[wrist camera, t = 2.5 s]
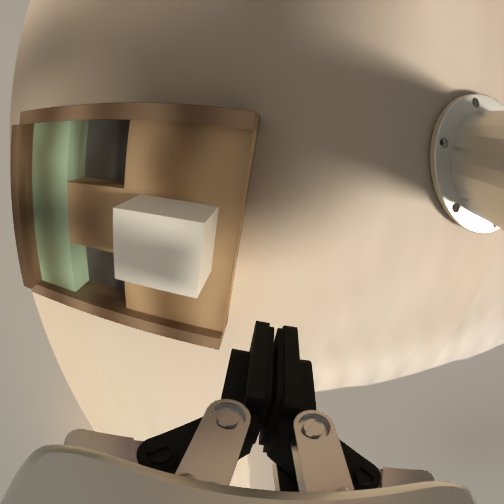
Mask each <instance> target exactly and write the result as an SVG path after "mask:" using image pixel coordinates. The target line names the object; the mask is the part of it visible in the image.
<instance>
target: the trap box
mask: <svg viewBox="0 0 504 504" xmlns="http://www.w3.org/2000/svg"><path fill="white" fill-rule="evenodd" d="M259 120H260V116H259V115H258V114H257V113H256V112H254V111H247V110H240V109H232V108H223V107H213V106H202V105H189V104H171V103H101V104H84V105H71V106H61V107H52V108H44V109H37V110H30V111H24V112H21V117H20V125H12V136H11V196H12V211H13V221H14V230H15V238H16V245H17V252H18V257H19V263H20V269H21V274H22V278H23V283H24V286H26V287H28V288H30V289H32V291H33V292H35V293H37V294H40V295H42V296H45V297H47V298H49V299H52V300H55V301H57V302H60V303H62V304H65V305H68V306H70V307H73V308H76V309H78V310H81V311H84V312H87V313H90V314H92V315H95V316H98V317H101V318H104V319H107V320H110V321H113V322H117V323H120V324H123V325H126V326H129V327H133V328H136V329H140V330H143V331H146V332H150V333H154V334H157V335H161V336H165V337H168V338H172V339H176V340H180V341H184V342H188V343H192V344H196V345H201V346H205V347H209V348H214V349H218V350H219V348H220V345H221V341H222V338H223V335H224V331H225V328H226V325H227V320H228V313H229V307H230V300H231V293H232V287H233V280H234V273H235V267H236V260H237V254H238V248H239V241H240V235H241V228H242V222H243V216H244V210H245V203H246V197H247V191H248V185H249V179H250V173H251V167H252V161H253V155H254V149H255V143H256V137H257V131H258V125H259ZM141 194H142V195H149V196H156V197H162V198H169V199H175V200H182V201H188V202H194V203H200V204H206V205H212V206H218V207H219V211H218V219H217V227H216V235H215V243H214V251H213V260H212V268H211V272H210V274H209V276H208V278H207V280H206V282H205V284H204V286H203V288H202V290H201V292H200V294H199V296H198V298H193V297H188V296H184V295H179V294H175V293H171V292H167V291H162V290H158V289H154V288H150V287H146V286H142V285H138V284H134V283H130V282H126V281H122V280H119V279H115V271H114V250H113V207H115V206H117V205H120V204H122V203H124V202H126V201H128V200H130V199H132V198H134V197H136V196H139V195H141Z"/></svg>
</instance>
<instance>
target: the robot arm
mask: <svg viewBox="0 0 504 504" xmlns="http://www.w3.org/2000/svg"><path fill="white" fill-rule="evenodd" d="M440 141H441V144H440ZM430 169H431V176H432V181H433V186H434V188H435V191H436V194H437V197H438V199H439V201H440V203H441V205H442V207H443V209H444V210H445V211H446V213H447V214H448V215H449V216H450V218H451V219H453V220H454V221H455V222H456V223H457V224H459V225H460V226H462V227H464V228H465V229H467V230H469V231H472V232H475V233H489V232H493V231H495V230H497V229H499V228H500V229H502V230H504V105H502V104H501V103H500V102H499V101H497V100H496V99H494V98H492V97H490V96H487V95H483V94H468V95H463V96H460V97H458V98H456V99H454V100H452V101H451V102H450V103H449V104H448V105H447V106H446V107H445V108H444V110H443V111H442V113H441V114H440V116H439V117H438V120H437V122H436V125H435V127H434V130H433V135H432V139H431V146H430ZM269 326H270V323H266V322H260V321H256V324H255V328H254V333H253V338H252V342H251V347H250V351H249V352H248V351H242V350H237V349H232V351H231V355H230V360H229V365H228V369H227V374H226V378H225V383H224V388H223V392H222V397H221V399H220V400H217V401H214V402H213V403H211V404H210V405H209V407H208V408H207V410H206V412H205V414H204V416H203V417H201V418H199V419H197V420H194V421H192V422H190V423H187V424H185V425H183V426H180V427H178V428H175V429H173V430H170V431H168V432H165V433H163V434H160V435H158V436H155V437H152V438H150V439H147V440H145V441H136V440H134V438H130V437H123V436H117V435H111V434H105V433H100V432H95V431H90V430H85V429H76V430H73V431H71V432H70V433H69V434H68V435H67V437H66V438H65V442H64V445H46V446H43V447H40V448H39V449H37V450H35V451H34V452H33V453H32V454H31V455H30V456H29V457H28V458H27V459H26V461H25V462H24V463H23V465H22V466H21V467H20V469H19V470H18V472H17V473H16V475H15V477H14V478H13V480H12V482H11V484H10V486H9V488H8V489H7V491H6V494H5V495H4V498H3V500H2V502H1V504H477V502H476V500H475V498H474V496H473V494H472V493H471V491H470V490H469V489H468V488H467V487H465V486H463V485H460V484H457V483H452V482H446V481H434V477H433V476H432V474H430V473H429V472H428V471H424V470H412V469H411V470H410V469H398V468H388V467H383V468H382V469H378V468H377V467H376V466H375V465H374V464H372V463H371V462H369V461H368V460H367V459H365V458H364V457H362V456H361V455H360V454H358V453H357V452H355V451H354V450H353V449H351V448H350V447H349V446H347V445H346V444H345V443H343V442H342V441H341V440H340V439H339V438H338V435H337V431H336V428H335V425H334V423H333V421H332V419H331V418H330V417H329V416H328V415H326V414H325V413H323V412H320V411H317V410H316V401H315V391H314V381H313V372H312V364H311V361H308V360H300V356H299V342H298V330H297V327H291V326H283V328H282V329H281V328H278V329H277V333H276V336H275V340H274V327H269ZM259 432H260V435H259ZM258 435H259V445H264V448H263V452H266V453H267V456H268V457H269V458H270V459H271V460H272V461H273V464H272V467H273V475H274V482H275V490H276V491H270V490H259V489H250V488H242V487H234V486H229V484H230V481H231V479H232V476H233V473H234V470H235V467H236V464H237V461H238V460H239V459H240V458H242V457H244V456H246V455H247V454H249V453H250V451H251V448H252V445H253V444H255V442H256V440H257V437H258Z"/></svg>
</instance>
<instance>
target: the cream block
mask: <svg viewBox="0 0 504 504" xmlns="http://www.w3.org/2000/svg"><path fill="white" fill-rule="evenodd" d="M218 211H219V207H218V206H212V205H206V204H200V203H194V202H188V201H182V200H175V199H169V198H162V197H156V196H149V195H142V194H141V195H139V196H136V197H134V198H132V199H130V200H128V201H126V202H124V203H122V204H120V205H117V206H115V207H113V250H114V271H115V279H119V280H122V281H126V282H130V283H134V284H138V285H142V286H146V287H150V288H154V289H158V290H162V291H167V292H171V293H175V294H179V295H184V296H188V297H193V298H198V296H199V294H200V292H201V290H202V288H203V286H204V284H205V282H206V280H207V278H208V276H209V274H210V272H211V268H212V260H213V251H214V243H215V235H216V227H217V219H218Z"/></svg>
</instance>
